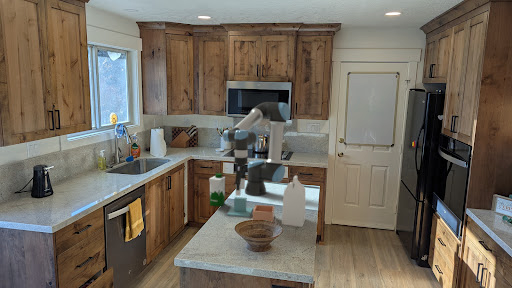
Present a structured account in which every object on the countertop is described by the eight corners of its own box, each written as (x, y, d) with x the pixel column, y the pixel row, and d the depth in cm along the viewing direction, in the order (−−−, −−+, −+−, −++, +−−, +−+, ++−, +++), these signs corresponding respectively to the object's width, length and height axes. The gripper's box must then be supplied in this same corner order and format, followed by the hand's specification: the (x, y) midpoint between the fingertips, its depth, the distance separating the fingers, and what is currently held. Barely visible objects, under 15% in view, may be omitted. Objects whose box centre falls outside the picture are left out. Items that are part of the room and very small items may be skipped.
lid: (231, 207, 217) (232, 194, 215) (252, 209, 215) (252, 195, 213) (227, 215, 204) (227, 200, 202) (249, 216, 202) (249, 202, 201)
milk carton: (226, 204, 225) (226, 173, 222) (220, 208, 217) (220, 177, 214) (214, 202, 228) (214, 172, 225) (207, 206, 220) (207, 175, 217)
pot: (255, 216, 206) (255, 204, 205) (274, 217, 204) (274, 206, 203) (252, 223, 195) (252, 211, 194) (272, 224, 193) (272, 212, 192)
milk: (302, 226, 191) (304, 180, 187) (281, 224, 194) (283, 178, 190) (305, 219, 202) (307, 175, 198) (285, 216, 205) (287, 173, 201)
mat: (230, 207, 218) (230, 206, 218) (255, 209, 216) (255, 208, 216) (224, 217, 203) (224, 216, 203) (251, 219, 200) (251, 218, 200)
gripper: (238, 152, 217) (238, 186, 220) (230, 160, 192) (229, 197, 195) (250, 153, 216) (249, 186, 219) (243, 161, 191) (242, 198, 194)
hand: (240, 192), depth 207 cm, fingers open, 13 cm apart
